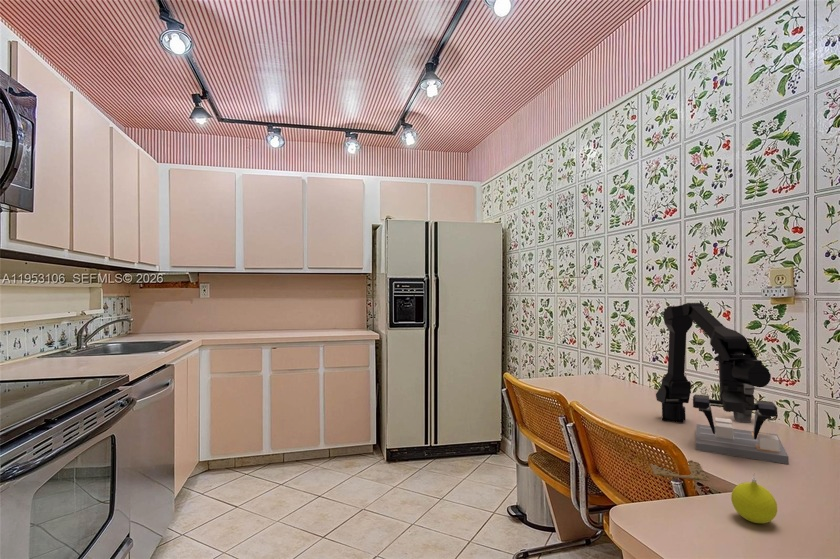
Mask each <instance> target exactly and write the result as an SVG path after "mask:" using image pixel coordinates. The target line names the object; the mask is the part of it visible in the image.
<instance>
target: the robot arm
mask: <svg viewBox="0 0 840 559" xmlns="http://www.w3.org/2000/svg"><path fill="white" fill-rule="evenodd" d="M662 314H663V320H664V322H663V323H664V325H665V326H666V328H667V329H668V331H669V332H668V334H669V336H668V357H667V358H668V360H667V372H666V373H665V374H664V376H663V377H662V378H661V384H660V385H661V386H660V387H659V389H658V390H657V392H656V393H655V398H656V401H657V402H659V403H660V404H661V415H662V416H661V421H662V422H671V423H678V424H679V423H680V424H684V423H685V421H686V417H687V416H686V415H687V414H686V406H684V404H689V401H690V396H691V394H692V389H691V388H692V382H691V381H689V380H688V378H687V377H686V375H685V372H686V370H685V369H686V352H687V351H686V348H687V346H686V345H687V333H688V331H690V329H691V328H692V327H693V324H694V323H695V324H696V325H697V326H698V327H699V328H700V329H701V330H702V331H703V332H704V333H705V334H706V335H707V336H708V338H709V339H710V341H709V344H710V346H711V347H712V349H713V350H714V351H715V353H716V354H717V355H716V356H715V357H714V358H713V361H714V362H718V378H719V379H718V380H719V381H718V382H719V399H711V398H710V395H705V394H694V395H693V396H692V408H694V409H698V411H699V412H702V413H703V414H704V416H705V417H706V419H707V421H708V425H709V426H710V427H711V429H712V432H713V434H715V427H714V426H715V423H714V417H713V413H712V412H713V410H712V408H711V407H715V408H716V407H719V408H722V409H723V411H724V412H726V413H730V412H738V413H745V412H746V410H752V411H755V412H754V419H753V420H754V422H753V431H754V439H756V438H757V436H758V433H759V432H761V430H760V429H761V428H762V425H763V424H764V423H765V421H767V420H771V419H772V417H773V418H776V417H779V416H778V407H777V405H776V404H775V403H774V402H773V401H767V400H757V399H756V403H755V396H754V394H753V395H750V394H745V384H748V385H751V386H754V387H756V388H764V387H766V386H767V385H769V383H770V381H771V378H772V376H771V373H770V370H769V369H768V368H767V367H766V366H764V365H763V361H762V360H761V359H758V357H757V356H756V353H755V352H754V350H753V348H752V347H751V345H750V343H749V342H748V340H747V338H746V337H745V335H743V334H742V333H739V332H738V331H736V330H734V329H731V328H728V327H726V326H725V325H723V323H721V322H720V321H719V319H717V318H716V317H715V316H714V315H713V314H712V313H711V312H710V311H709V310H707V308H706V307H705V305H704V304H703V303H701V302H686V303H684V304H680V305H671V306H666V308H665V309H664V310H663V313H662ZM693 322H694V323H693Z"/></svg>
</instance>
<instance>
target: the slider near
mask: <svg viewBox="0 0 840 559" xmlns="http://www.w3.org/2000/svg"><path fill="white" fill-rule="evenodd" d="M778 437H779V436H778ZM778 437H777V436H775V435H767V434H759V433H758V445H759V447H760V449H764V450H771V451H778V452H779V439H780V438H779V439H778Z"/></svg>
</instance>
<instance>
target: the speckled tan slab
mask: <svg viewBox="0 0 840 559" xmlns="http://www.w3.org/2000/svg"><path fill="white" fill-rule="evenodd" d="M688 463H689V466H690V471H691V474H690V475H679V474H677V473H674V472H672V471H670V470H667V469H664V468H661V467H658V466H656V465H653V464H650V463H649V465H650V468H651V470H652V474H653V476H654V475H655V476H662V477H663V476H664V477H669V478H671V477H672V478H678V479H687V480H696V481H702V482H703V481H704V482H710V478H709V476H708V475H707V473H705V471H704V469H703V468H702V465H701V464H700V463H699V461H693V460H688ZM700 465H701V466H700Z"/></svg>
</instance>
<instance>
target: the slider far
mask: <svg viewBox="0 0 840 559" xmlns="http://www.w3.org/2000/svg"><path fill="white" fill-rule="evenodd" d="M714 419H715V420H714V421H715V423H714V426H716V423H724V424H732V425H733V422H732V418H731V419H730V418H723V417H714Z"/></svg>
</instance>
